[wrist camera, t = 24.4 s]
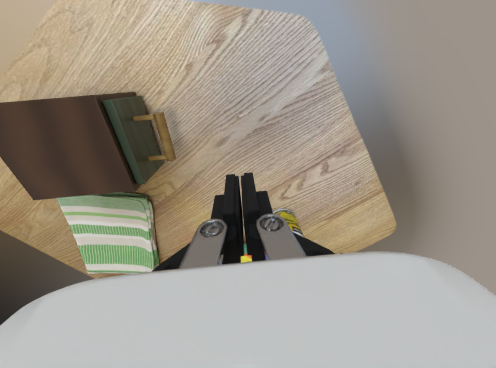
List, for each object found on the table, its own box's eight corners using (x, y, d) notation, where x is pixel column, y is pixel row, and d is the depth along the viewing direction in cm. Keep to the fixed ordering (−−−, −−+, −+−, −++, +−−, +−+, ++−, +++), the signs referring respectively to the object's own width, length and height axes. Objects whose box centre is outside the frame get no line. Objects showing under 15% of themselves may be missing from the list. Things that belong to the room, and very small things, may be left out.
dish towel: (152, 193, 38) (147, 200, 35) (163, 267, 49) (159, 276, 46) (57, 186, 36) (44, 193, 33) (90, 265, 47) (83, 275, 44)
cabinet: (135, 91, 29) (93, 95, 20) (159, 165, 35) (135, 191, 27) (41, 99, 29) (-40, 106, 20) (82, 172, 35) (33, 200, 26)
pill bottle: (297, 208, 42) (315, 246, 32) (290, 228, 45) (305, 269, 35) (271, 206, 41) (281, 243, 31) (265, 226, 44) (274, 267, 34)
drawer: (168, 93, 28) (147, 96, 22) (185, 161, 34) (173, 181, 27) (53, 102, 28) (-5, 109, 21) (89, 170, 34) (52, 192, 27)
